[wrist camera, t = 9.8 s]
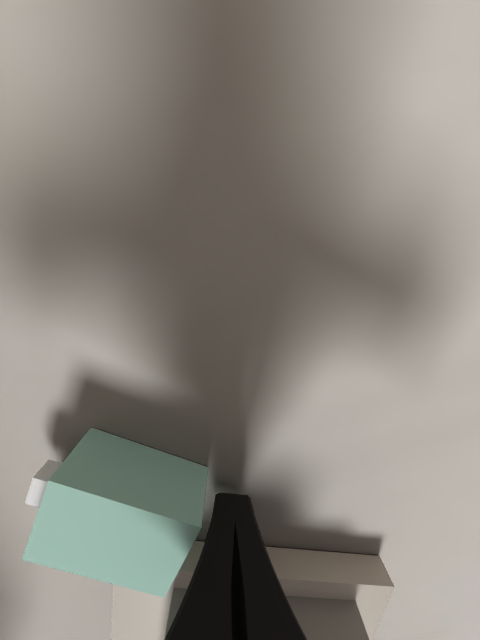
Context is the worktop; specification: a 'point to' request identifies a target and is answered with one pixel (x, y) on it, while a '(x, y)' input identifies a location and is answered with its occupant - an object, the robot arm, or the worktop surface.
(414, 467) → the worktop surface
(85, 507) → the cable plug
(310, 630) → the plate
